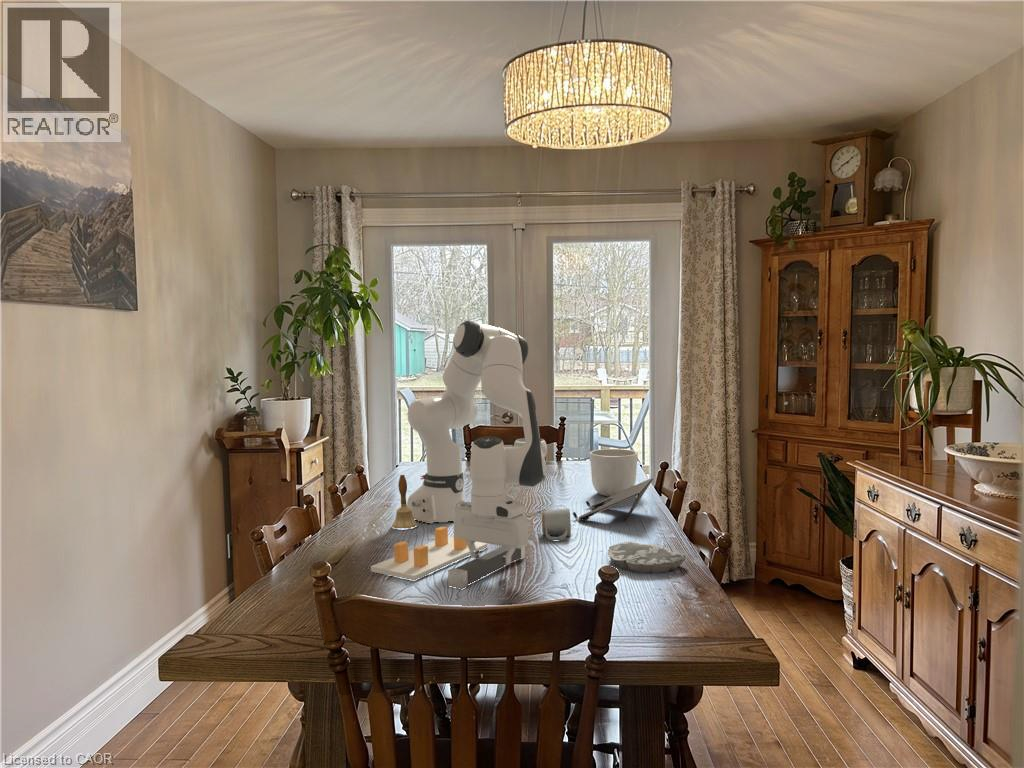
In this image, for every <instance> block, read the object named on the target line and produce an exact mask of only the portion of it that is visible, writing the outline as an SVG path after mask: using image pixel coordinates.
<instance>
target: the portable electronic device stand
mask: <svg viewBox="0 0 1024 768" xmlns="http://www.w3.org/2000/svg"><path fill="white" fill-rule="evenodd" d="M653 480H654V479H653V477H651V478H649V479H647V480H644V481H642V482H640V483H638V484H635V486H632V487H630V488H628V489H626V490H623V491H621V492H619V493H617V494H614V495H612V496H610V497H608V496H607V497H606V498H604V499H601V500H599V501H597V502H596V503H593V504H592V505H591V503H590V502H589V500H586V501H585V503H586V506H587V507H588V509H590V508H594V509H591V510H590V511H588V512H586V513H583V514H581V515H580V516H579V517H578V516H577V512H576V511H574V512H572V516H574V517H573V518H574V519H575V521H579V520H580V521H583V522H586V521H587V520H589V519H590V517H593V516H595V515H597V514H599V513H601V512H604V511H605V510H607V509H610V508H612V507H614V506H618V505H619V504H621V503H624V502H626V501H628V500H631V499H634V498H635V497H636V498H635V501H634V502H633V504H632V506H631V508H630V509H629V511H628V514H627V515H626V517H625V518H624V520H623V521H624V522H626V521H627V520H628V519H629V517H631V515H632V514H633V511H634V510H635V509H636V507H637V505H638V504H639V502H640V501H641V499H642V497H643V496H644V494H645V492H646V491H647V490H648V488H649V486H650V485H651V483H652V482H653Z"/></svg>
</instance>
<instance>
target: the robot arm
mask: <svg viewBox="0 0 1024 768" xmlns="http://www.w3.org/2000/svg"><path fill="white" fill-rule="evenodd" d="M453 347H454V352H453V354H452V356H451V358H450V360H449V361H448V363H447V366H446V368H445V369H444V372H443V373H442V382H443V384H444V386H445V387H446V390H445V391H444V393H442V394H441V395H435V396H433V395H431V396H426V397H425V396H424V397H422V398H419V399H417V400H414V401H413V402H411V403H410V405H409V407H408V409H407V414H406V415H407V421H408V424H409V426H410V427H411V429H413V430H414V431H415V432H417V434H418V435H419V437H420V438H421V440H422V442H423V444H424V448H425V454H426V455H425V457H426V473H425V474H423V475H420V476H419V477H420V480H423V482H422V485H421V486H419V487H418V489H416V490H415V491H414V492H412V493H411V494H409V496H408V498H407V500H406V504H407V507H408V508H410V509H411V511H412V516H413V519H416V520H419V521H422V522H421V523H423V522H426V523H425V524H427V523H430V524H433V523H432V522H439V523H449V522H448V521H453V536H454V535H455V537H456V538H458V539H464V540H466V544H467V546H468V548H469V550H470V555H471V557H470V558H471V559H476V558H478V557H480V553H479V550H477V549H476V547H475V544H474V543H475V542H482V543H487V545H488V544H490V545H494V546H495V545H496V546H499V547H502V546H506V551H508V552H507V554H506V555H505V556H503V557H502V560H503V561H502V563H503V564H510V563H511V556H512V554H513V552H514V550H515V548H522V547H524V546H525V547H526V546H527V544H528V543H529V540H530V539H529V538H530V535H529V525H528V520H527V517H526V516H525V515H524V514H525V513H526V509H527V508H526V505H525V504H524V503H523V502H520V501H518V500H516V499H514V498H512V497H511V496H509V495H508V489H507V487H506V486H507V485H509V486H511V485H512V486H515V485H516V486H522V487H523V486H525V487H535V486H537V485H538V484H540V482H542V481H543V480H544V479H545V477H546V476H545V475H546V473H547V463H546V462H547V461H546V456H545V457H544V454H543V451H542V447H541V440H540V439H541V435H540V427H539V420H538V413H537V407H536V403H535V402H536V401H535V398H534V397H535V396H534V395H533V392H532V391H531V390H530V389H528V388H526V385H525V383H524V381H523V365H524V364H525V362H526V361H527V359H528V356H529V355H528V354H529V343H528V341H527V340H526V338H524V337H523V336H521V335H519V334H517V333H512V332H511V331H509V330H506V329H504V328H501V327H499V326H493V325H489V324H487V323H486V324H485V323H481V322H479V321H475V320H464V321H463V322H462V323H460V324H459V326H458V327H457V329H456V331H455V333H454V338H453ZM480 383H481V384H480ZM479 384H480V385H481V391H482V393H483V395H484V396H485V398H486V399H487V400H488V401H489V402H490V403H492V404H493V405H495V406H497V407H499V408H502V409H505V410H507V411H511V412H513V413H514V414H517V415H518V416H519V417H520V418H521V419H522V420H521V421H522V426H523V434H524V438H525V444H524V445H523V446H521V447H514V446H505V445H504V441H503V440H502V439H501V438H499V437H497V436H483V437H479V438H477V439H475V440H474V441H473V442H472V444H471V451H470V459H469V476H470V480H471V483H472V484H471V489H470V501H465V496H464V495H465V494H464V483H465V481H464V478H465V477H464V472H463V463H462V462H463V460H462V459H463V457H462V449H461V447H460V445H459V444H458V443H456V442H454V441H453V439H452V436H451V434H450V432H451V431H450V430H454V429H460V428H463V427H465V426H467V425H469V424H471V423H473V422H474V421H475V420H476V418H477V415H478V405H477V403H476V401H475V393H476V391H477V388H478V386H479ZM419 521H418V522H419Z"/></svg>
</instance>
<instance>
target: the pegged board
mask: <svg viewBox="0 0 1024 768" xmlns="http://www.w3.org/2000/svg"><path fill="white" fill-rule="evenodd" d="M448 528H449V527H446V526H440V527H436V528H434V541H431V542H429V543H426V544H420V545H418V546H415V547H413V549H411V550H409V542H407V541H403V540H402V541H399V542H397V543H394V544H393V551H394V556H393V557H391V558H388V559H385V560H384V561H381V562H378V563H376V564H373V565H371V566H370V572H371V571H373V572H377V573H382V574H387V575H392V576H397V577H402V578H406V579H411V580H416V579H418V578H421V577H423V576H425V575H427V574H429V573H431V572H433V571H435V570H437V569H440V568H442V567H444V566H446V565H448V564H450V563H452V562H455V561H457V560H459V559H461V558H464V557H466V556H469V555H470V550H469V548H468V546H467V544H466V540H464V539H458V538H456V537H455V535H454V534H453V536H449V534H448V533H449V532H448ZM474 544H475V547H476V549H477V550H482V549H484V548H486V547H487V548H488V543H482V542H475V543H474Z"/></svg>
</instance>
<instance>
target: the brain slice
mask: <svg viewBox="0 0 1024 768" xmlns="http://www.w3.org/2000/svg"><path fill="white" fill-rule="evenodd" d="M607 555H608V557H609V558H610V560H611V561H612V562H614V563H615V564H616V565H618V567H619V568H622V569H624V570H630V571H631V572H634V573H644V574H647V573H652V574H657V573H666V572H668V571H670V570H671V571H672V570H676V569H677V568H678V567H680V566H681V565H682V564H683V563H684V561H686V556H685V555H684V554H683V553H678V552H674V551H672V550H671V549H669V548H667V547H666V546H661V545H657V544H650V543H640V542H634V541H624V542H619V543H616V544H613V545H610V546H608V549H607Z"/></svg>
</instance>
